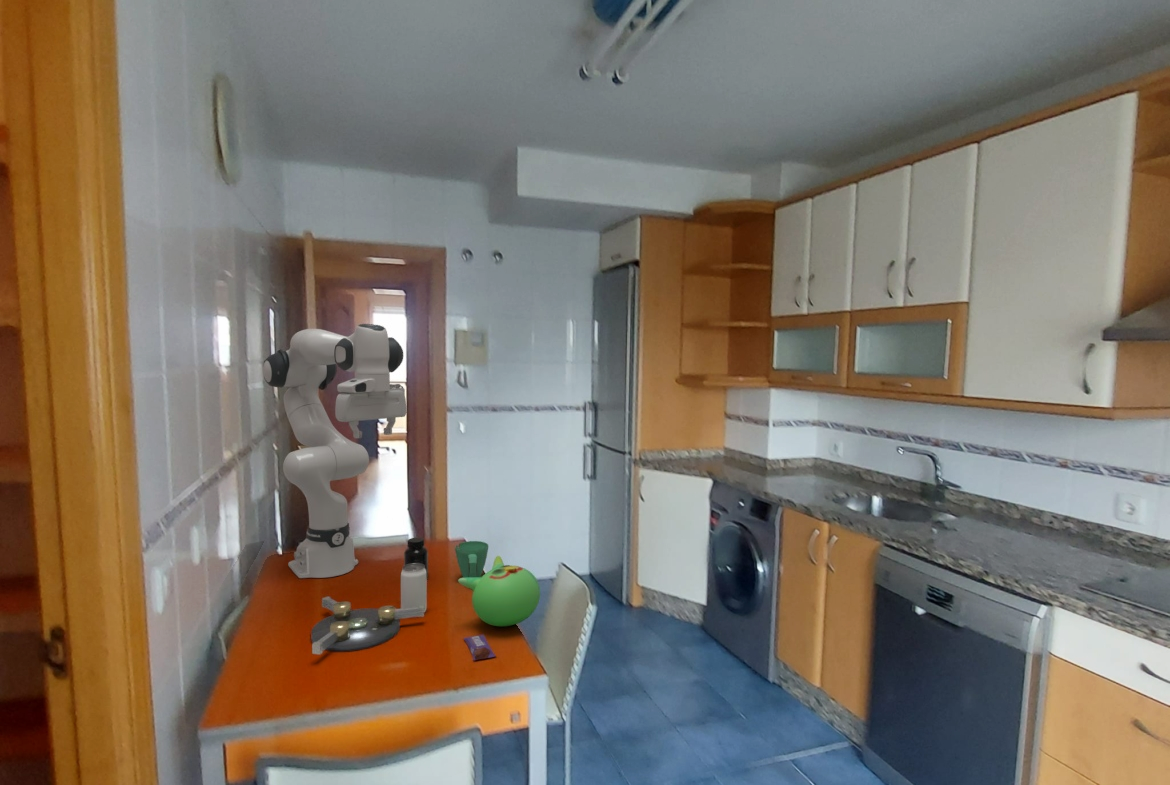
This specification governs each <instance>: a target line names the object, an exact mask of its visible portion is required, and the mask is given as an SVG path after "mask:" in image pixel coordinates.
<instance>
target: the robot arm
mask: <svg viewBox="0 0 1170 785" xmlns="http://www.w3.org/2000/svg"><path fill="white" fill-rule="evenodd" d="M403 361H404V349H403V348H402V346H401V345H400V343H399V342H398V341H397V340H396V339H395V338H394V337H393V336H392V337H389V336H388V331H387V328H386V327H384V326H383V325H380V324H374V323H361V324H357V326H355V329H354V332H353V333H352V334H350V335H349V336H345V335H342V334H339V333H336V332H333V331H329V330H325V329H321V328H306V329H302V330H300V331H298V332H295V334H293V335H292V337H291V339H290V343H289V349H287V350H283V349H278V350H277V351H276V352H274V353H272V354H270V355H269V356H267V357H266V359H264V361H263V364H262V374H263V378H264V381H265V382H266V383H267V384H268V386H270V387H274V388H280V389H281V388H288V389H286V391H285V392H284V395H283V405H284V410H285V413H286V417H287V420H288V422H289V424H290V426H291V429H292V431H293V434H294V436H295V439H296V440H297V441H298V442H299V443H300V444H301V445H303V446H305V447H303V448H300V449H297V450H294V451H291V452H288V454H287V455H286V457H285V458H284V461H283V464H282V471H283V474H284V477H285V478H286V479H287V481H288V482H290V484H293V485H294V486H296V487H297V488H298V489H299V490H300V491H301V493H302V494H303V495H304V497H305V499H306V503H307V508H308V509H307V510H308V523H309V524H308V525H307V526H306V536H305V539H304V540H303V541H302V542H301V543H300V544H298V545H297V547H296V551H294V553H293V557H294V559H293V560H290V561H289V562H288V567H289V568H290V570H291V571H292V573H294V574H295V575H296V577H297V578H299V579H307V578H315V579H316V578H317V579H320V578H332V577H337V576H342V575H344V574H347V573H349V572H351V571H352V570H354V569H355V567H356V565H358V564H359V559H357V558H356V557H355V548H354V540H353V538H351V537H350V530H351V529H350V528H351V527H350V523H349V519H348V517H349V516H348V515H349V514H348V511H349V510H348V506H349V505H348V500H347V498H346V497H345V495H343V494H341V493H339V492H337V491H334V490H333V489H332V487H331V481H337V480H338V481H339V480H345V479H351V478H354V477H356V476H359V475H362V474H364V473H365V472H366V471H367V469H368V467H369V464H370V456H369V453H368V451H367V449H366V447H364V446H363V445H362V444H359V443H357V442H354V441H352V440H350V439H348V438H347V437H346V436H344V435H343V434H342V433H341V432H340V431H338V429H336V427H335V426H334V425H333V423H332V421H331V420H330V418H329V416H328V413H327V411H326V410H325V407H324V405H323V403H322V401H321V399H320V396H319V390H321V391H324V390H326V389H328V388H327V387H328V385H330V384H332V382H333V381H334V379H335V377H336V376H337V372H338V370H337V366H338V367H339V368H340V370H342V371H344V372H350V373H354V377H353V378H350V379H348V380H346V381H343V382H341V383H340V382H339V384H337V385H336V386H337V387H336V388H337V390H336V391H337V392H338V393H339V394H337V396H336V399H335V410H334V412H335V413H334V415H335V419H336V420H337V422H342V423H348V426H349V427H350V429H351V430H352V432H353V435H352V436H353V438H354V439H361V438H363V431H362V430H360V429H359V428H358V426H359V423H360V422H359V421H373V420H381V419H382V420H384V419H386V422H387V424H386V427H383V435H385V436H386V435H387V436H388V435H392V433H393V428H394V425H395V424H396V422H397V421H396V418H405V416H406V415H407V413H408V410H407V409H408V407H407V402H406V401H407V399H406V395H405V390H406V389H405V387H404V386H402V385H401V384H400V383H395V384H392V383H390V380H391V376H390V373H393V372H395V371H396V370H397V369H399V367H400V366H401V365H402V363H403Z"/></svg>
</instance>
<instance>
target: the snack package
mask: <svg viewBox="0 0 1170 785" xmlns="http://www.w3.org/2000/svg"><path fill="white" fill-rule="evenodd" d="M462 640H464V641H465V643H466V645H467V647H468V649H469V651H470V653H471V655H472V660H473V661H479V660H484V659H485V660H486V659H489V658H494V657H496V654H495V653H494V651H493V650H492V648H491V646H490V645H489V642H488V640H487V639H486V635H485V634H480V635H474V636H467V637H463V639H462Z"/></svg>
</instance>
